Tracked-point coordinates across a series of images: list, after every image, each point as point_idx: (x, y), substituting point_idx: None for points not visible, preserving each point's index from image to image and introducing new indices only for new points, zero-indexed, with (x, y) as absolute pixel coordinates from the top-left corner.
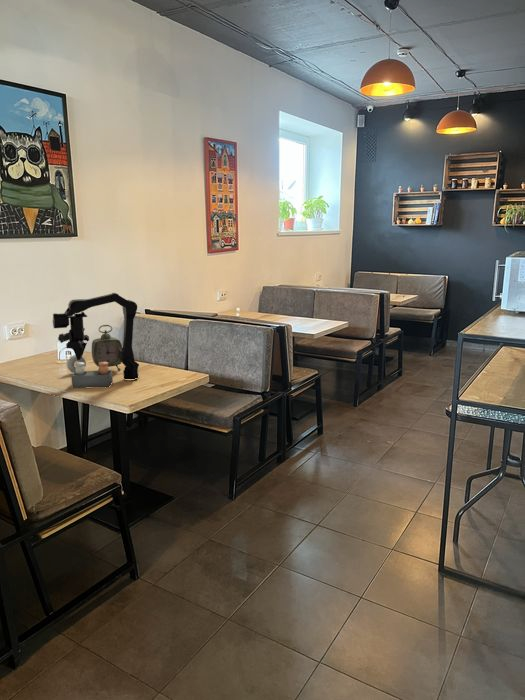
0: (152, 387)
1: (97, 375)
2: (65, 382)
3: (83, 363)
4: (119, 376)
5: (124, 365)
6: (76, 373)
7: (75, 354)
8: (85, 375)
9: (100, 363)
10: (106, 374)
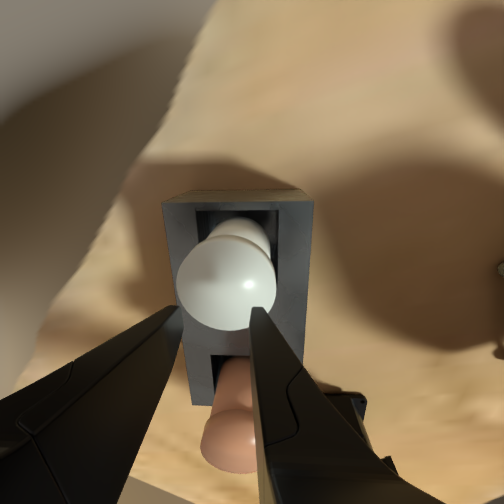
0: (209, 468)
1: (185, 357)
2: (325, 103)
3: (214, 325)
4: (394, 367)
5: (390, 457)
6: (214, 228)
7: (90, 352)
8: None
9: (215, 438)
10: (208, 395)
